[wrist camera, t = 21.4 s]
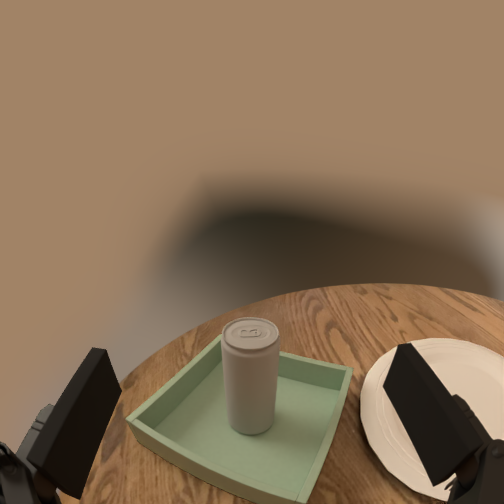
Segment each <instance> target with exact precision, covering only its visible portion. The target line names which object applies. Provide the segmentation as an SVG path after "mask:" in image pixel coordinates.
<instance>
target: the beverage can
mask: <svg viewBox="0 0 504 504" xmlns="http://www.w3.org/2000/svg"><path fill="white" fill-rule="evenodd" d="M221 350H222V363H223V375H224V386H225V396H226V407H227V416H228V422H229V423H230V425H231V426H232V427H233V428H234V429H235V430H237V431H239V432H241V433H245V434H251V435H253V434H259V433H262V432H264V431H266V430H267V429H269V427H270V426H271V425H272V423H273V421H274V412H275V402H276V391H277V379H278V366H279V353H280V336H279V330H278V328H277V326H276V325H275V324H273V323H272V322H270V321H268V320H265V319H262V318H256V317H246V318H239V319H236V320H233V321H231V322H229V323H228V324H226V325H225V327H224V328H223V331H222V337H221Z"/></svg>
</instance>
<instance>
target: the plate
mask: <svg viewBox="0 0 504 504" xmlns="http://www.w3.org/2000/svg"><path fill="white" fill-rule="evenodd" d="M408 343H412V345H413V346H414V347H415V348H416V350H417V351H418V352H419V353H420V355H421V356H422V357H423V358H424V360H425V361H426V362H427V364H428V365H429V366H430V367H431V369H432V370H433V371H434V373H435V374H436V375H437V377H438V378H439V379H440V381H441V382H442V383H443V385H444V386H445V387H446V389H447V390H448V391H449V393H450V394H451V395H455V394H457V395H459V396H460V397H461V398H463V399H464V400H465V401H466V402H467V404H468V405H469V406H470V409H472V411H473V412H474V413H475V416H477V418H478V419H479V420H480V422H481V423H482V425H483V426H484V428H485V429H486V431H487V432H488V434H489V435H490V436H491V438H492V439H493V440H495V439H501V440H504V357H503V356H501V355H499V354H497V353H495V352H494V351H492V350H490V349H488V348H486V347H483V346H480V345H477V344H474V343H471V342H468V341H462V340H456V339H450V338H428V339H422V340H416V341H411V342H408ZM405 344H406V343H405ZM396 349H397V347H395V348H393V349H392V350H390V351H389V352H387V353H386V354H384V355H383V356H382V357H380V358H379V359H378V360H377V361H376V363H375V364H374V365H373V367H372V368H371V369H370V370H369V372H368V373H367V375H366V378H365V381H364V384H363V387H362V390H361V393H360V419H361V422H362V425H363V428H364V431H365V434H366V438H367V441H368V444H369V446H370V447H371V449H372V450H373V452H374V453H375V454H376V456H377V457H378V459H379V460H380V462H381V463H382V465H383V466H384V467H385V469H386V470H387V471H388V472H389V473H390V474H392V475H393V476H394V477H395V478H397V479H398V480H399V481H400V482H402V483H403V484H404V485H406V486H407V487H408V488H410V489H411V490H412V491H414V492H417V493H420V494H422V495H425V496H428V497H431V498H434V499H437V500H440V501H443V502H447V501H448V498H449V495H450V491H449V489H450V488H451V487H452V486H450V487H449V488H448V489H447V490H444V489H445V487H446V485H447V484H448V483H449V482H451V481H452V480H453V479H454V478H455V477H456V474H455V473H454V474H453V475H452V476H451V477H450V478H449V479H448V480H446V481H444V482H442V483H440V484H438V485H436V486H434V487H433V486H432V484H431V481H430V479H429V477H428V475H427V473H426V471H425V468H424V466H423V464H422V462H421V460H420V458H419V456H418V454H417V452H416V450H415V448H414V446H413V444H412V442H411V440H410V438H409V436H408V434H407V432H406V430H405V428H404V426H403V424H402V422H401V420H400V418H399V416H398V415H397V413H396V411H395V409H394V407H393V405H392V403H391V401H390V400H389V398H388V396H387V394H386V392H385V390H384V388H383V387H382V386H383V384H384V381H385V379H386V376H387V374H388V371H389V369H390V366H391V363H392V360H393V358H394V355H395V352H396Z"/></svg>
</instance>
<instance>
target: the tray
mask: <svg viewBox="0 0 504 504" xmlns="http://www.w3.org/2000/svg"><path fill="white" fill-rule="evenodd" d="M221 337H222V334H220V335H219V336H217V337H216V338H215V339H214V340H213V341H212V342H211V343H210V344H209V345H208V346H207V347H206V348H205V349H204V350H202V351H201V352H200V353H199V354H198V355H197V356H196V357H195V358H194V359H193V360H192V361H190V362H189V363H188V364H187V365H186V366H185V367H184V368H183V369H182V370H181V371H179V372H178V373H177V374H176V375H175V376H174V377H173V378H172V379H170V380H169V381H168V382H167V383H166V384H165V385H164V386H163V387H161V388H160V389H159V390H158V391H157V392H156V393H155V394H153V395H152V396H151V397H150V398H149V399H148V400H147V401H145V402H144V403H143V404H142V405H141V406H140V407H138V408H137V409H136V410H135V411H134V412H133V413H131V414H130V415H129V416H128V417H127V418H126V421H127V423H128V425H129V427H130V429H131V430H132V432H133V434H134V436H135V438H136V439H137V441H138V442H139V443H141V444H142V445H144V446H145V447H146V448H148V449H149V450H151V451H153V452H154V453H156V454H157V455H159V456H160V457H162V458H164V459H165V460H167V461H168V462H170V463H172V464H174V465H175V466H177V467H179V468H180V469H182V470H184V471H186V472H188V473H190V474H191V475H193V476H195V477H197V478H199V479H201V480H203V481H205V482H207V483H209V484H211V485H213V486H215V487H218V488H220V489H222V490H224V491H227V492H229V493H231V494H234V495H236V496H238V497H241V498H243V499H246V500H249V501H251V502H254V503H257V504H306V503H307V501H308V499H309V496H310V494H311V492H312V490H313V488H314V485H315V483H316V481H317V478H318V476H319V474H320V471H321V469H322V466H323V464H324V461H325V459H326V456H327V453H328V451H329V448H330V445H331V442H332V440H333V437H334V434H335V431H336V428H337V425H338V422H339V419H340V416H341V412H342V409H343V406H344V402H345V399H346V396H347V392H348V388H349V385H350V381H351V377H352V373H353V369H354V368H352V367H347V366H343V365H338V364H333V363H328V362H323V361H319V360H314V359H310V358H306V357H301V356H297V355H293V354H289V353H285V352H281V351H280V353H279V366H278V379H277V391H276V402H275V412H274V421H273V423H272V425H271V426H270V427H269V429H267V430H266V431H264V432H262V433H259V434H253V435H251V434H245V433H241V432H239V431H237V430H235V429H234V428H233V427H232V426H231V425H230V423H229V422H228V416H227V407H226V396H225V386H224V375H223V363H222V350H221Z"/></svg>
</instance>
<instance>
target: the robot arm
mask: <svg viewBox="0 0 504 504" xmlns="http://www.w3.org/2000/svg"><path fill="white" fill-rule="evenodd" d="M382 387H383V388H384V390H385V392H386V394H387V396H388V398H389V400H390V401H391V403H392V405H393V407H394V409H395V411H396V413H397V415H398V416H399V418H400V420H401V422H402V424H403V426H404V428H405V430H406V432H407V434H408V436H409V438H410V440H411V442H412V444H413V446H414V448H415V450H416V452H417V454H418V456H419V458H420V460H421V462H422V464H423V466H424V468H425V471H426V473H427V475H428V477H429V479H430V481H431V484H432V486H433V487H434V486H436V485H438V484H440V483H442V482H444V481H446V480H448V479H449V478H450V477H451V476H452V475H453V474H454V473H455V474H456V477H455V478H454V479H453V480H452V481H451V482H449V483H448V484H447V485H446V487H445V489H444V490H447V489H448V488H449V487H450V486H452V487H451V488H450V489H449V491H450V495H449V498H448V501H447V504H504V440H501V439H495V440H493V439H492V438H491V436H490V435H489V434H488V432H487V431H486V429H485V428H484V426H483V425H482V423H481V422H480V420H479V419H478V418H477V416H475V413H474V412H473V411H472V409H470V406H469V405H468V404H467V402H466V401H465V400H464V399H463V398H461V397H460V396H459V395H457V394H455V395H451V394H450V393H449V391H448V390H447V389H446V387H445V386H444V385H443V383H442V382H441V381H440V379H439V378H438V377H437V375H436V374H435V373H434V371H433V370H432V369H431V367H430V366H429V365H428V364H427V362H426V361H425V360H424V358H423V357H422V356H421V355H420V353H419V352H418V351H417V350H416V348H415V347H414V346H413V345H412V343H406V344H400V345H398V346H397V349H396V352H395V355H394V358H393V360H392V363H391V366H390V369H389V371H388V374H387V376H386V379H385V381H384V384H383V386H382ZM121 393H122V390H121V388H120V385H119V383H118V380H117V378H116V375H115V373H114V370H113V367H112V365H111V362H110V359H109V356H108V353H107V350H106V349H99V348H92V349H91V350H90V352H89V353H88V355H87V356H86V358H85V359H84V361H83V362H82V364H81V365H80V367H79V368H78V370H77V371H76V373H75V374H74V376H73V377H72V379H71V380H70V382H69V384H68V385H67V387H66V389H65V390H64V392H63V393H62V395H61V396H60V398H59V400H58V401H57V403H56V405H55V406H53V405H51V404H48V405H47V406H46V407H44V408H43V409H42V410H41V411H40V412H39V414H38V416H37V417H36V419H35V420H36V421H34V422H33V424H32V426H31V428H30V429H29V431H28V433H27V434H26V436H25V438H24V440H23V442H22V443H21V445H20V447H19V449H18V451H17V452H16V454H14V453H13V452H12V451H11V450H10V449H9V448H8V447H7V446H6V444H4V443H2V442H0V504H62V503H61V501H60V498H59V496H58V494H57V493H56V489H57V488H58V489H60V490H61V491H62V492H63V493H65V494H67V495H69V496H72V497H74V498H76V499H79V500H80V499H81V496H82V493H83V490H84V487H85V484H86V481H87V478H88V475H89V472H90V470H91V467H92V464H93V461H94V459H95V456H96V453H97V451H98V448H99V446H100V443H101V440H102V438H103V435H104V433H105V430H106V428H107V426H108V423H109V421H110V418H111V416H112V413H113V411H114V409H115V406H116V404H117V402H118V399H119V397H120V395H121Z"/></svg>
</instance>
